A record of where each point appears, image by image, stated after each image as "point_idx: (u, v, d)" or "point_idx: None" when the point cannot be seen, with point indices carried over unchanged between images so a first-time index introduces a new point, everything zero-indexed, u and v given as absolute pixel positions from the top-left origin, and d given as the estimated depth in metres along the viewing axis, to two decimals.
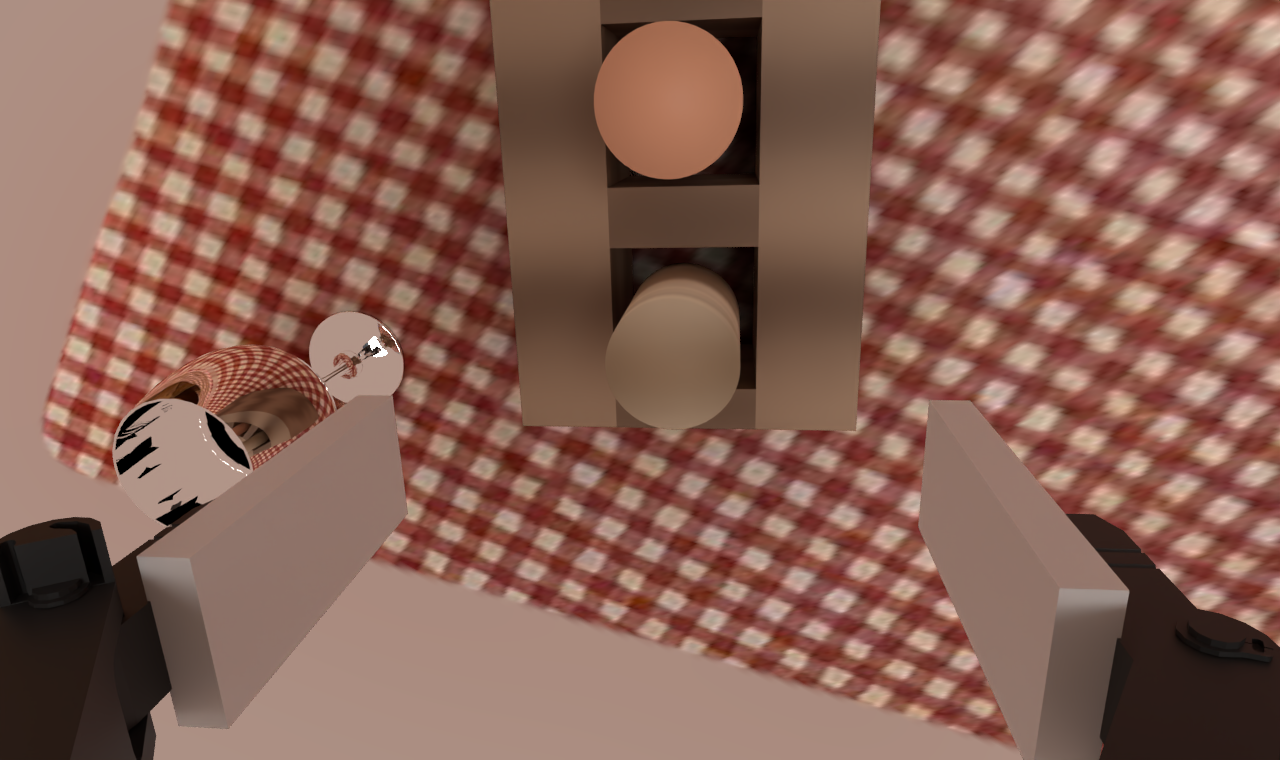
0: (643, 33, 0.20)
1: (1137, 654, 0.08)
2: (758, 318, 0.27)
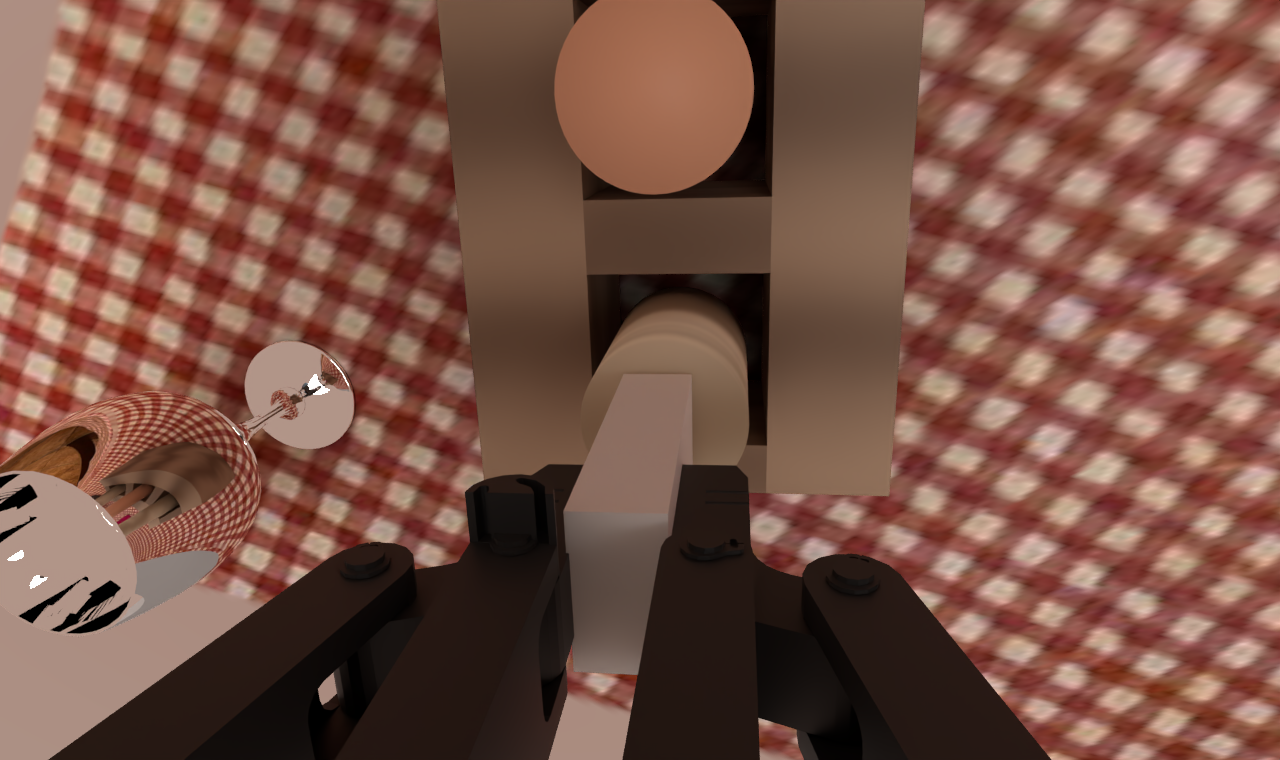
0: None
1: (656, 577, 0.10)
2: (770, 360, 0.22)
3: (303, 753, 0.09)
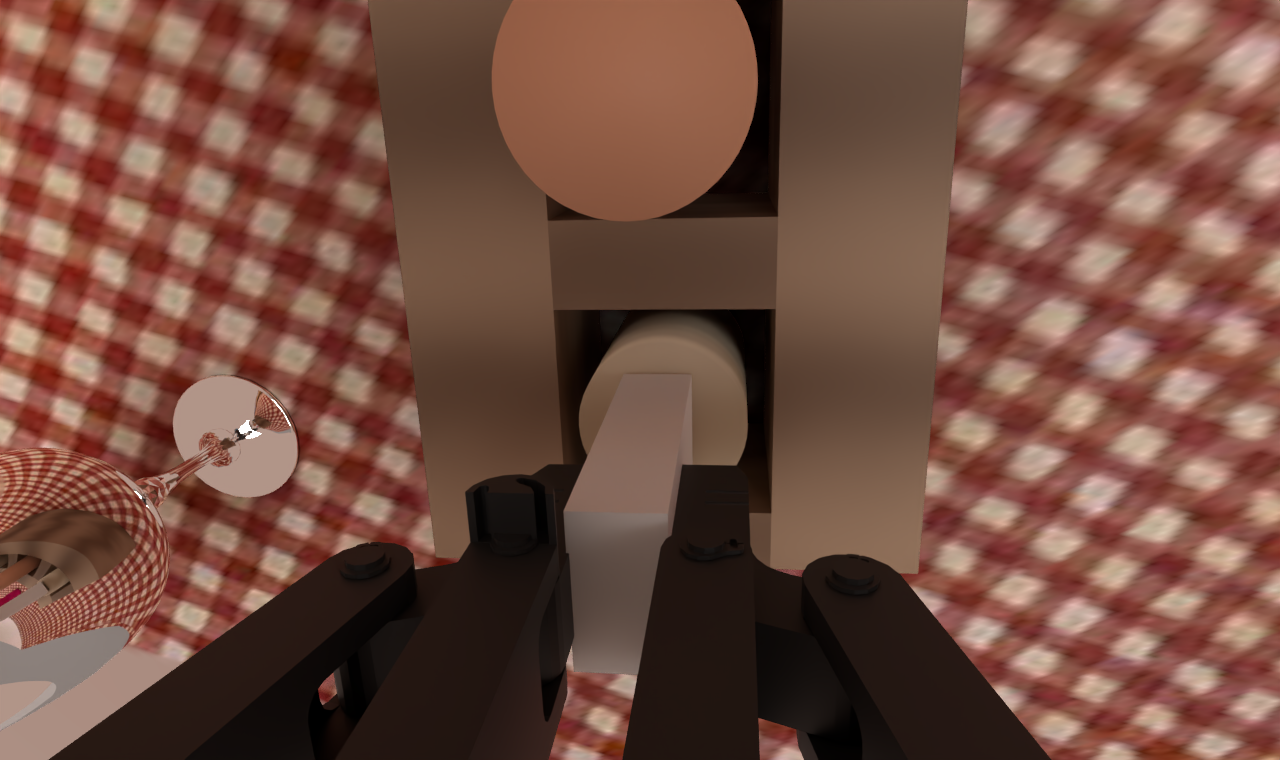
0: None
1: (656, 577, 0.10)
2: (775, 413, 0.18)
3: (303, 754, 0.09)
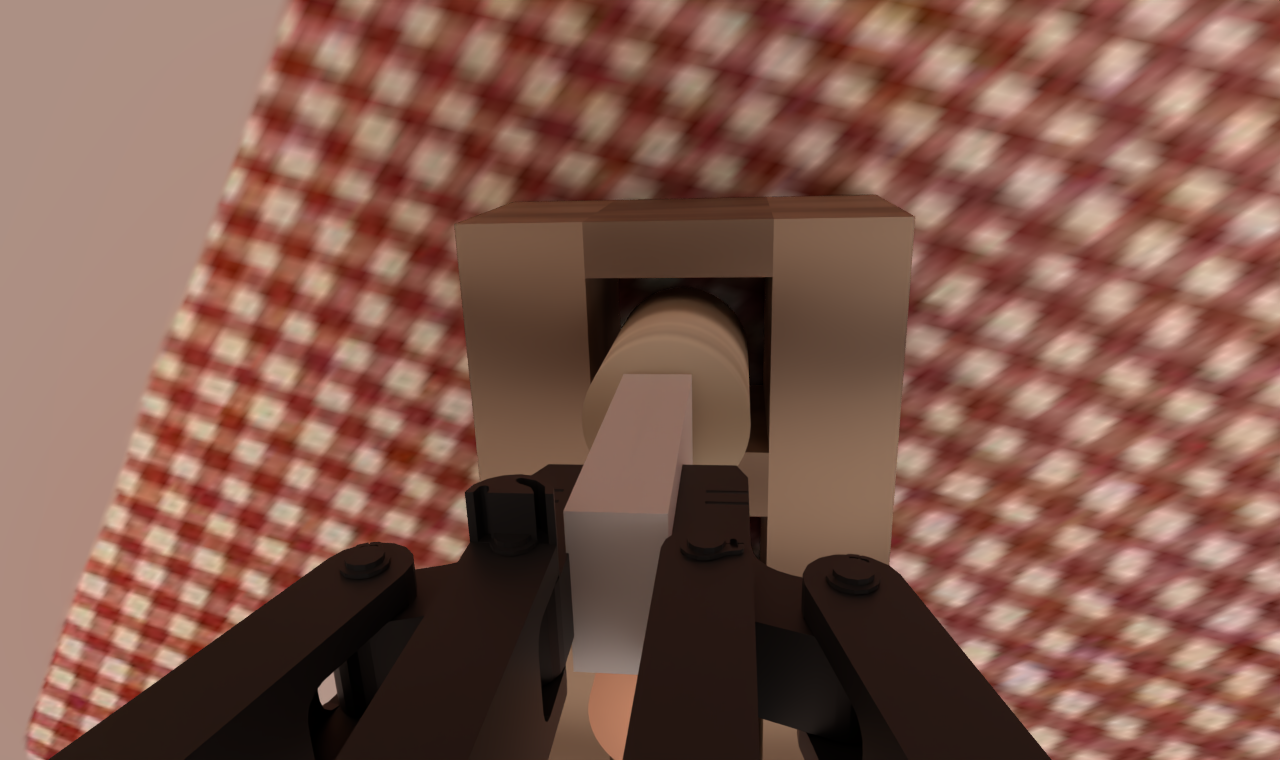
0: None
1: (656, 577, 0.10)
2: None
3: (302, 753, 0.09)
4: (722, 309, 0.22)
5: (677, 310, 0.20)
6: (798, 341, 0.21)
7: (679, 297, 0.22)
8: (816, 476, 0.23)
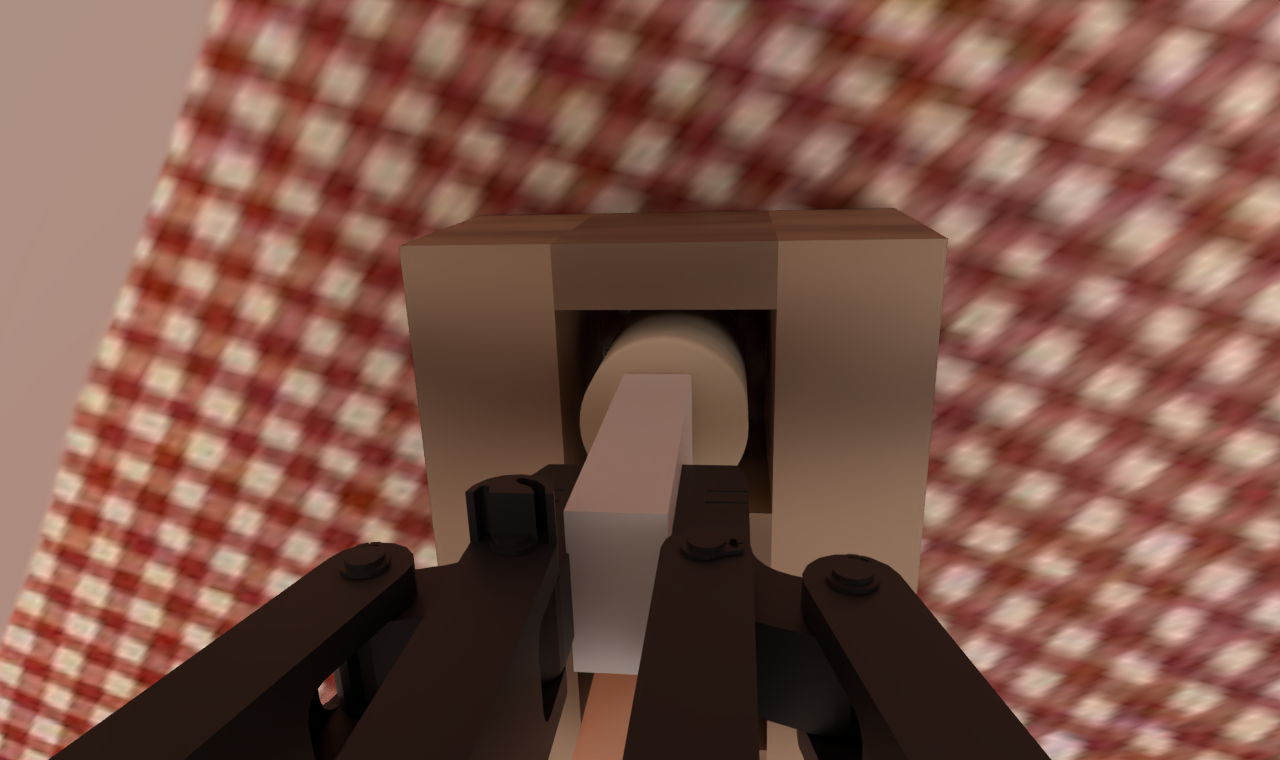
0: None
1: (656, 577, 0.10)
2: None
3: (303, 754, 0.09)
4: (720, 311, 0.22)
5: (675, 312, 0.20)
6: (807, 385, 0.18)
7: None
8: (828, 540, 0.19)
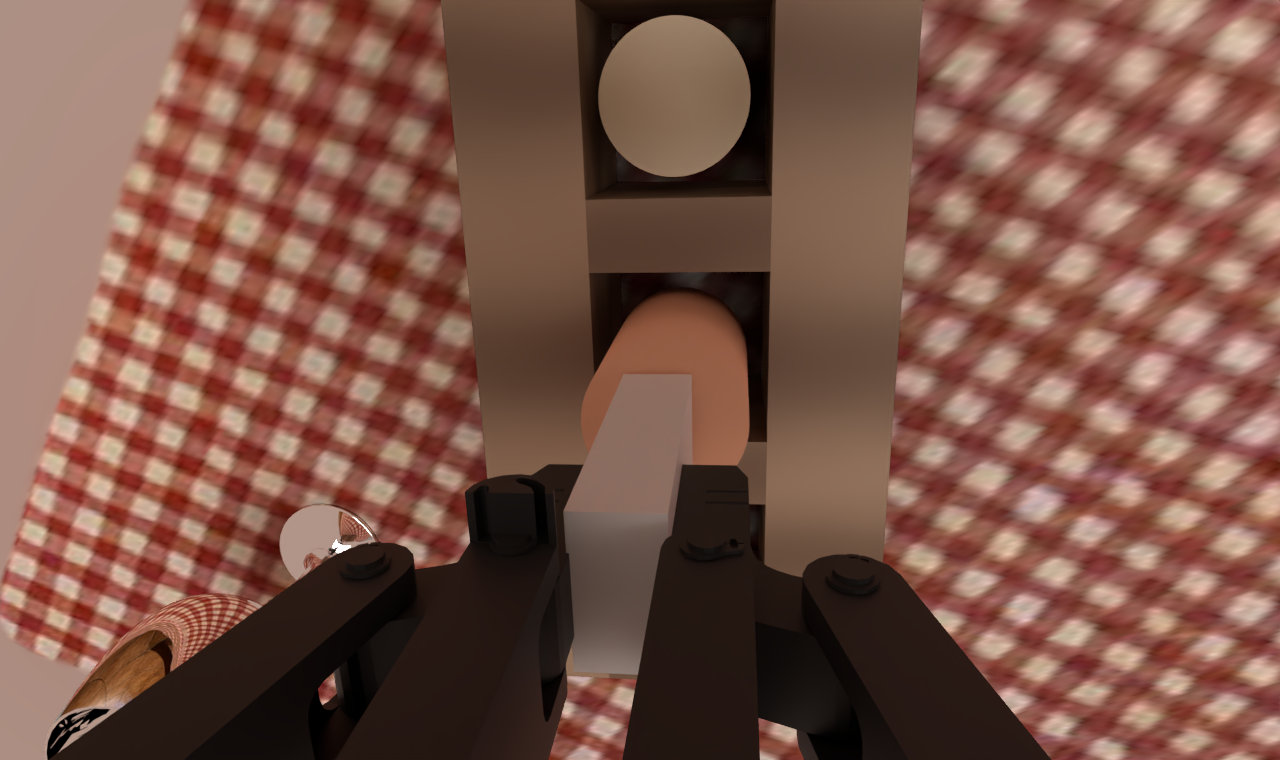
0: (636, 354, 0.18)
1: (656, 577, 0.10)
2: None
3: (302, 754, 0.09)
4: None
5: None
6: (804, 63, 0.20)
7: None
8: (823, 221, 0.21)
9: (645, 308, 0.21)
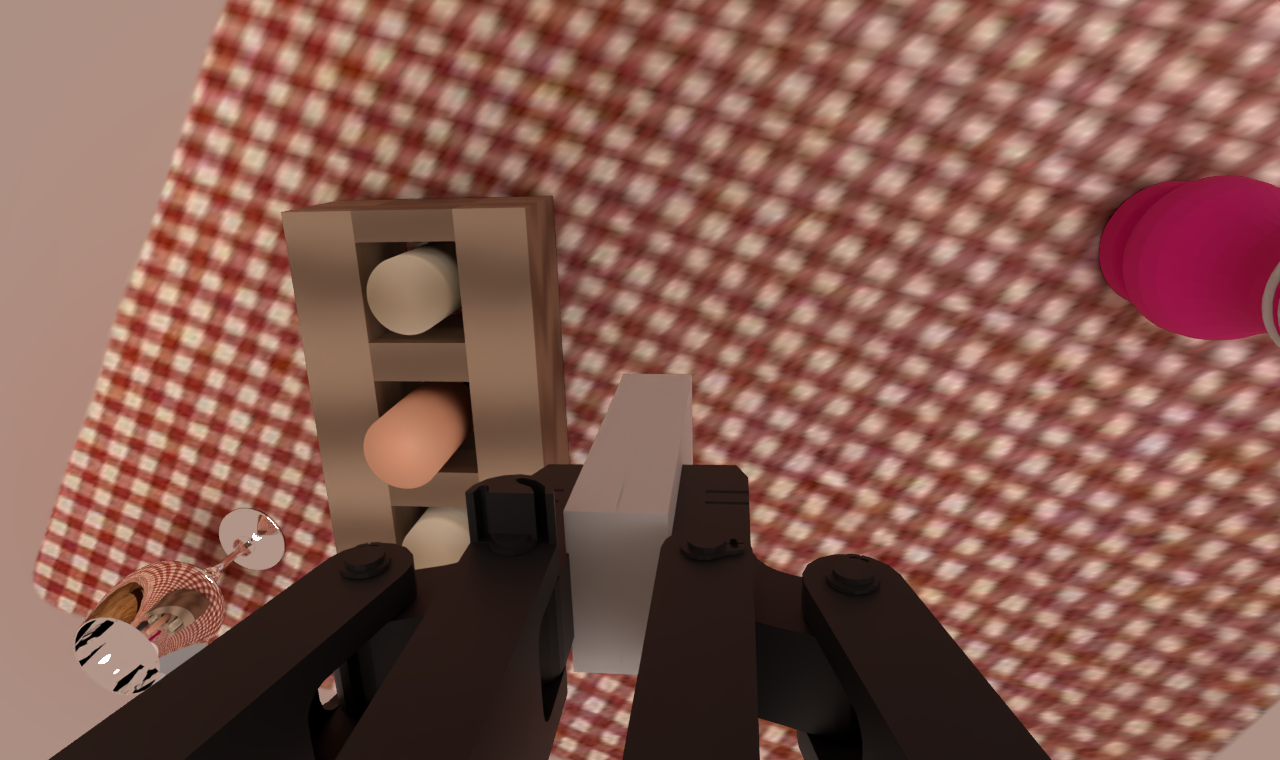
0: (386, 419, 0.38)
1: (656, 577, 0.10)
2: None
3: (303, 753, 0.09)
4: None
5: (425, 247, 0.41)
6: (473, 277, 0.38)
7: (435, 242, 0.42)
8: (493, 356, 0.40)
9: (414, 390, 0.42)
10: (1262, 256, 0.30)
